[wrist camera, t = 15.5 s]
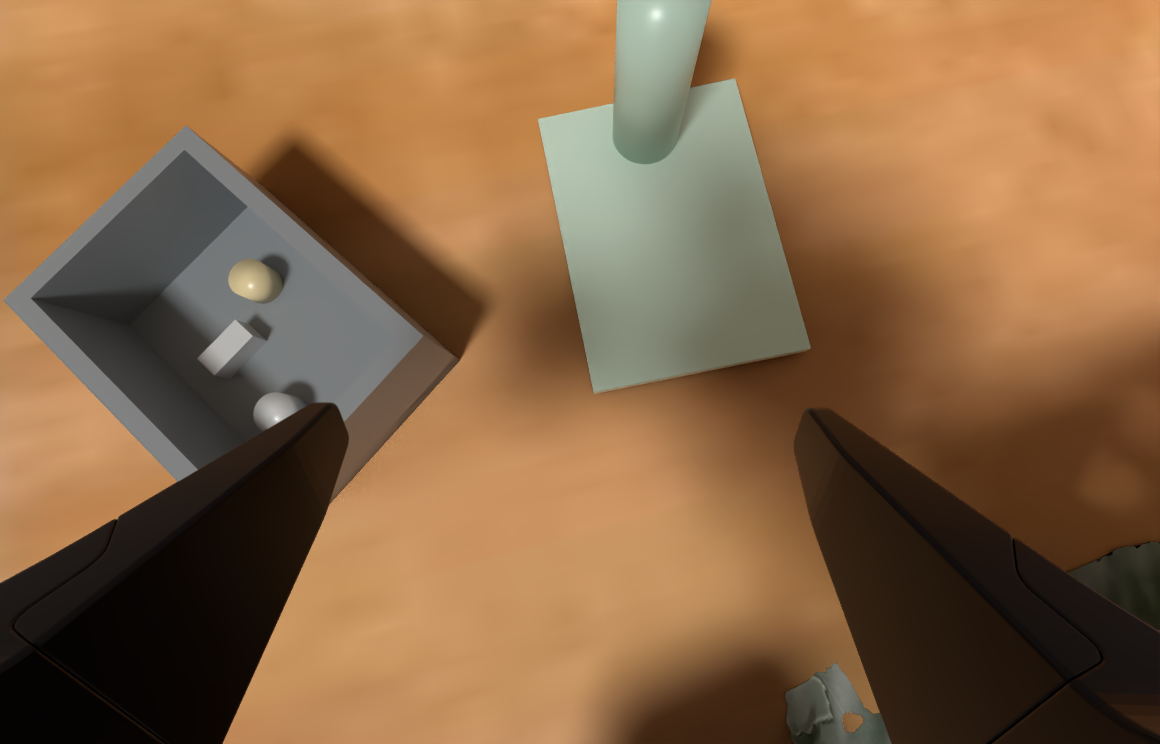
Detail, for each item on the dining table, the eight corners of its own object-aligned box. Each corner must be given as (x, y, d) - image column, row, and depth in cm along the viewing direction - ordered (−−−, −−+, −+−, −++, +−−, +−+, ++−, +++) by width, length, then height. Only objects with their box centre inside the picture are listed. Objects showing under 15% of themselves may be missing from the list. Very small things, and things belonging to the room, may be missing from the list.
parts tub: (313, 521, 23) (234, 540, 18) (122, 330, 25) (3, 300, 20) (459, 359, 24) (423, 335, 19) (265, 188, 26) (186, 125, 21)
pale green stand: (593, 395, 24) (589, 359, 14) (540, 134, 26) (508, -38, 17) (800, 353, 23) (926, 291, 14) (728, 95, 26) (798, -99, 17)
